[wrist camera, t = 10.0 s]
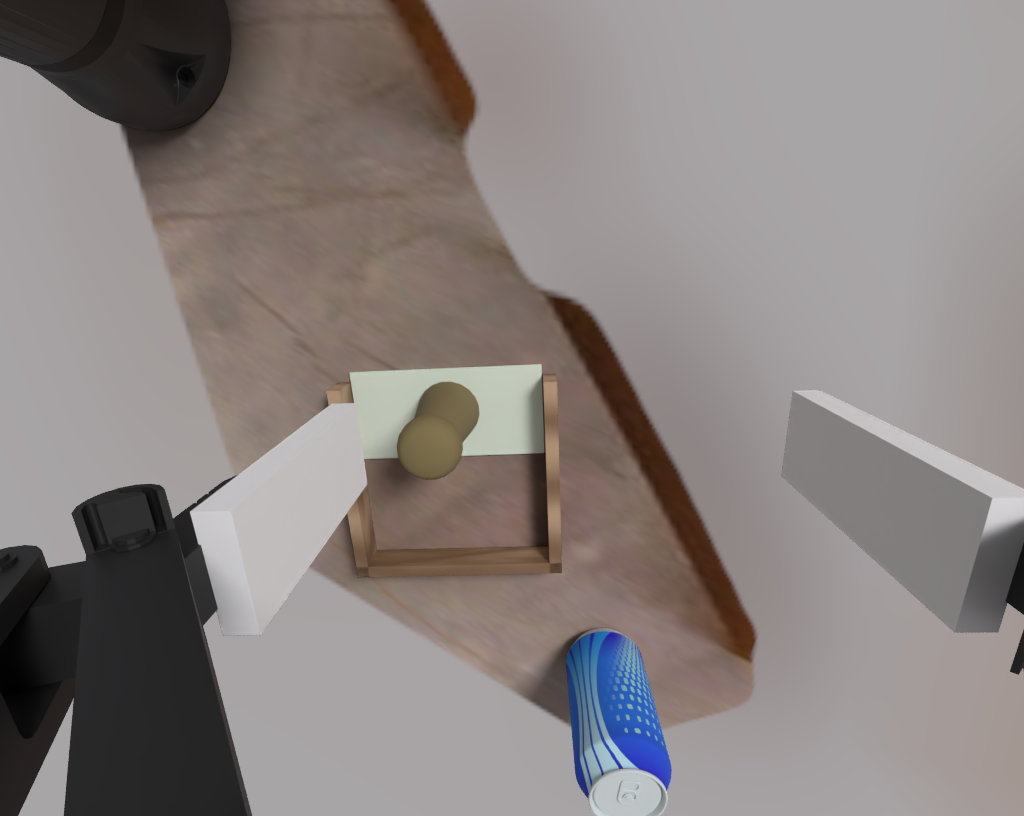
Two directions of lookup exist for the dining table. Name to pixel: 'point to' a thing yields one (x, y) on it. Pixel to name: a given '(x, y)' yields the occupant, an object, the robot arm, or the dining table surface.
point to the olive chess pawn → (438, 430)
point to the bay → (463, 559)
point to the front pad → (498, 390)
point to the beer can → (615, 727)
